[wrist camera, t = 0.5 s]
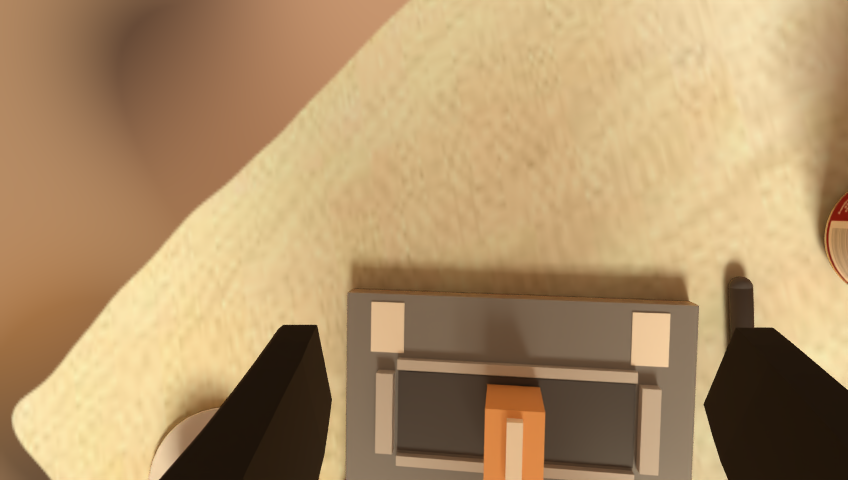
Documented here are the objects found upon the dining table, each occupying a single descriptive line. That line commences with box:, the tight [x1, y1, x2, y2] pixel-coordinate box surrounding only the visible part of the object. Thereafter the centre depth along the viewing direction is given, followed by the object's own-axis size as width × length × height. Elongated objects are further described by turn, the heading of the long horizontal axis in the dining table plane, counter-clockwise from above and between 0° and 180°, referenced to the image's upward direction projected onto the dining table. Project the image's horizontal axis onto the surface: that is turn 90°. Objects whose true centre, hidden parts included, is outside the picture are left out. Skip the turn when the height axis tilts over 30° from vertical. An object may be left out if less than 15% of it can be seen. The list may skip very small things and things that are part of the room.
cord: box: [729, 277, 754, 340], centre depth 32 cm, size 15×1×1 cm, turn 3°
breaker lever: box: [483, 384, 545, 480], centre depth 30 cm, size 4×3×5 cm
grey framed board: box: [346, 289, 699, 480], centre depth 33 cm, size 14×20×2 cm
